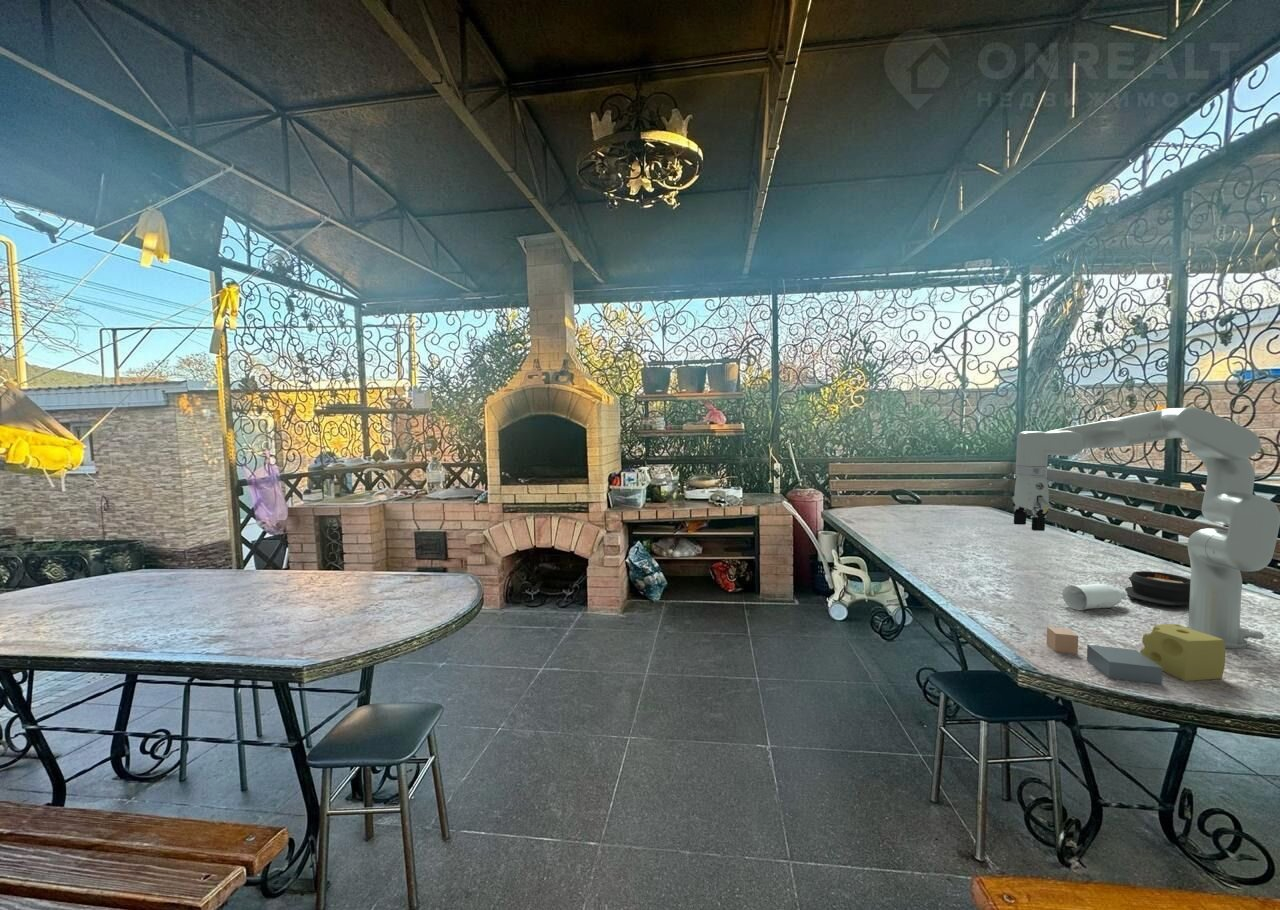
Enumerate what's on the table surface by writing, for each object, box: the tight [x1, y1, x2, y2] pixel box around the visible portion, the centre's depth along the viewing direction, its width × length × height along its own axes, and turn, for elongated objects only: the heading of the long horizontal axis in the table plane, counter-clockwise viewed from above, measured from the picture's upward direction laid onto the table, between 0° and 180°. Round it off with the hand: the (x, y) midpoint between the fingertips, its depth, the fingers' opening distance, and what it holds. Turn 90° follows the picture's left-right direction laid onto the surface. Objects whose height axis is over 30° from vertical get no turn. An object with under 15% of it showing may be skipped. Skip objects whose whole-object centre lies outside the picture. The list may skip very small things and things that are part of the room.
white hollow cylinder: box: [1060, 583, 1128, 611], centre depth 167 cm, size 8×19×8 cm, turn 99°
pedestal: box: [1086, 644, 1163, 685], centre depth 123 cm, size 10×10×4 cm
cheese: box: [1139, 623, 1226, 682], centre depth 123 cm, size 10×11×10 cm
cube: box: [1046, 626, 1079, 655], centre depth 136 cm, size 5×5×5 cm
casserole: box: [1124, 570, 1191, 607], centre depth 173 cm, size 25×19×8 cm
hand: (1028, 527), depth 153 cm, fingers open, 9 cm apart
